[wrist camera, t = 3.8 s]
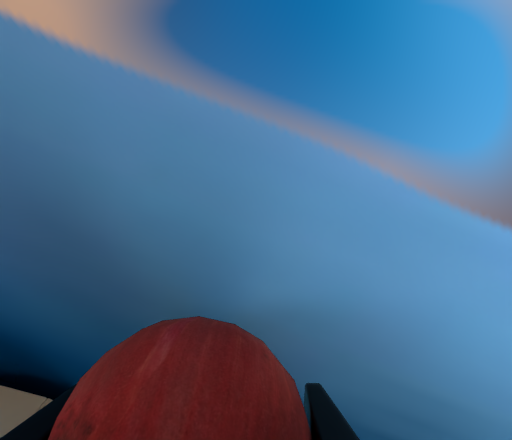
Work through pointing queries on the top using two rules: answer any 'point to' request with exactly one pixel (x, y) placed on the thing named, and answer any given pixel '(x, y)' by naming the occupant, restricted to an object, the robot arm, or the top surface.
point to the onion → (185, 389)
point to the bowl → (17, 407)
